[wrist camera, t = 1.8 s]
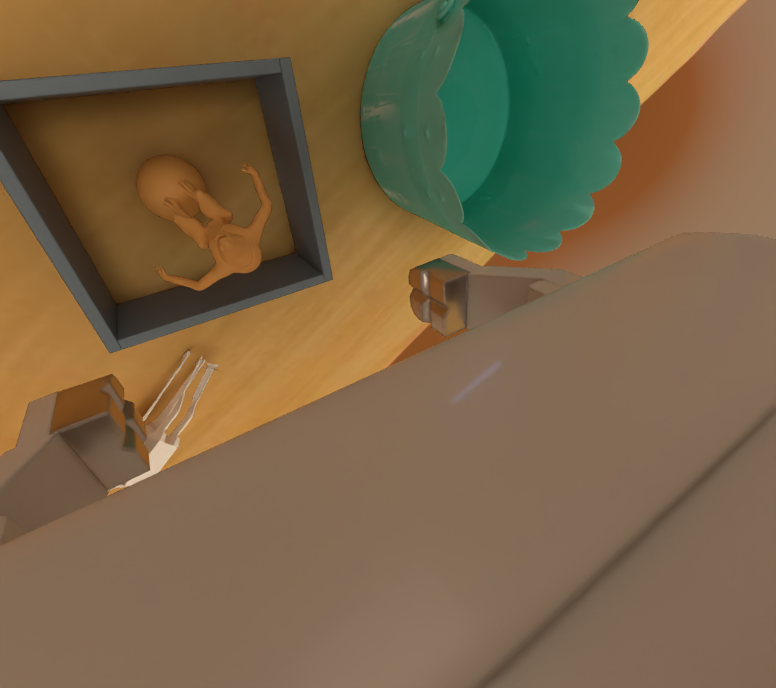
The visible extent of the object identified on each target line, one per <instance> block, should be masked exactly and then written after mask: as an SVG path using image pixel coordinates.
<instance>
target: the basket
mask: <svg viewBox="0 0 776 688" xmlns="http://www.w3.org/2000/svg"><path fill="white" fill-rule="evenodd" d="M638 1H639V0H424V1H422V2H420V3H419V4H416V5H414V6H412V7H411V8H410V9H409V10H407V11H405V12H404V13H403V14H401V16H400V17H398V18H397V19H396V20H395V21H394V22H393V24H392V25H391V26H390V27H389V28H388V29H387V30H386V32H385V35H384V36H383V37H382V38H381V39H380V41H379V44H378V46H377V47H376V48H375V50H374V54H373V57H372V58H371V60H370V63H369V68H368V70H367V72H366V76H365V82H364V84H363V94H362V97H361V110H360V115H361V122H360V125H361V129H362V133H361V135H362V140H363V146H364V150H365V152H366V158H367V161H368V162H369V165H370V169H371V171H372V172H373V174H374V177H375V179H376V181H377V182H378V184H379V186H380V187H381V188H382V189H383V190H384V193H385V194H386V195H387V196H389V198H390V199H391V200H392V201H393V202H395V203H396V204H397V205H398V206H400V207H402V208H403V209H404V210H406V211H409V212H411V213H413V214H415V215H417V216H419V217H421V218H423V219H426V220H428V221H430V222H432V223H434V224H436V225H438V226H440V227H442V228H444V229H446V230H448V231H450V232H452V233H454V234H456V235H458V236H460V237H462V238H464V239H466V240H468V241H470V242H473V243H475V244H477V245H479V246H481V247H483V248H486V249H488V250H489V251H491V252H495V253H497V254H499V255H501V256H504V257H506V258H509V259H512V260H524V259H526V258H527V252H526V251H531V252H549V251H552V250H555V249H556V248H558V247H559V246H560V245H561V243H562V236H561V234H560V231H565V230H572V229H574V228H577V227H580V226H581V225H583V224H585V223H586V222H587V221H588V220H589V219H590V218H591V216H592V214H593V212H594V202H593V199H592V197H591V195H590V193H593V192H597V191H599V190H601V189H603V188H605V187H606V186H608V185H609V184H610V183H611V182H612V181H613V180H614V179H615V177H616V176H617V174H618V172H619V170H620V166H621V161H622V158H621V153H620V150H619V149H618V147H617V146H616V145H615V143H614V141H615V140H617V139H619V138H621V137H622V136H623V135H624V134H626V133H627V132H628V131H629V130H630V129H631V127H632V126H633V125H634V123H635V122H636V119H637V117H638V114H639V110H640V99H639V95H638V93H637V91H636V90H635V88H634V87H633V86H632V85H631V84H630V83H628V80H629V79H630V78H632V77H633V76H634V75H635V74H636V73H637V72H638V71H639V69H640V68H641V67H642V65H643V63H644V61H645V59H646V56H647V52H648V37H647V33H646V30H645V29H644V27H643V26H641V24H640V23H639V22H638V21H635V19H631V18H630V17H628V14H629V13H630V12H631V11H632V10H633V9H634V8H635V6H636V4H637V3H638ZM525 250H526V251H525Z"/></svg>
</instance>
